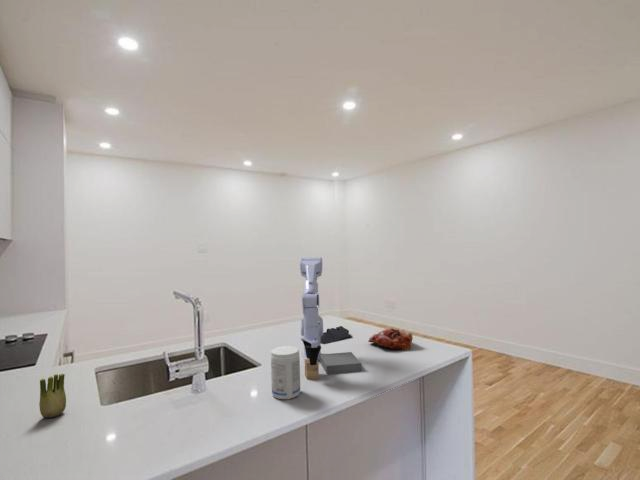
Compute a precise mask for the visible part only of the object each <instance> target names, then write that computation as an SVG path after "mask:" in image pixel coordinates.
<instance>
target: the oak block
mask: <svg viewBox="0 0 640 480" xmlns="http://www.w3.org/2000/svg"><path fill="white" fill-rule="evenodd" d="M319 373H320V371H319V360H317V364H316V365H310V361H309V359H305V360H304V375H305V379H306V380H312V379H315V380H316V379H320V378H319V377H320V374H319Z"/></svg>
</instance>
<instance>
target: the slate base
mask: <svg viewBox="0 0 640 480" xmlns="http://www.w3.org/2000/svg"><path fill="white" fill-rule="evenodd" d="M319 356H320V359H319V363H320V365H321V367H322V368H323V371H324V372H325V374H327V375H328V374H339V373H341V374H342V373H351V372H359V371H360V372H361V371H362V362H361V361H360V360H359V359H358V358H357V356H355V355H354V353H353V352H352V351H347V352H346V351H345V352H335V353H321V354H319Z"/></svg>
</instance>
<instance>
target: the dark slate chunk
mask: <svg viewBox="0 0 640 480" xmlns="http://www.w3.org/2000/svg"><path fill="white" fill-rule="evenodd" d="M349 333H350V330H349V329H347V328H346V327H344V326H342V325H340V326H337V327H335V328H334V327H331V328H326V331H325V332H324V331H323V335H322V336H321V338H320V345H321V344H322V345H328V344H331V343H336V342H342V341H346V340H349V339H354V337H353V336H352V335H351V334H349Z"/></svg>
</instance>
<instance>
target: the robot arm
mask: <svg viewBox="0 0 640 480" xmlns="http://www.w3.org/2000/svg"><path fill="white" fill-rule="evenodd" d="M299 268H300V269H299V270H300V275H301V276H302V277H304V278H305V281H304V283H303V295H302V296H301V307H302V314H303V315H302V318H301V322H300V336H301V337H300V341H302V343H303V352H302V353H301V355H302V357H303V359H304V361H305V359H309V361H310V365H316V364H317V360H318V361H320V356H319V354H322V353H321V350H322V346H321V343H320V338H321V336H322V335H323V332H324V320H323V318H322V316H320V315H319V309H320V294H319V283H318V282H317V280H318V279H319V277H321V276H322V274H323V258H322V257H302V256H301V257H300V259H299Z"/></svg>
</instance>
